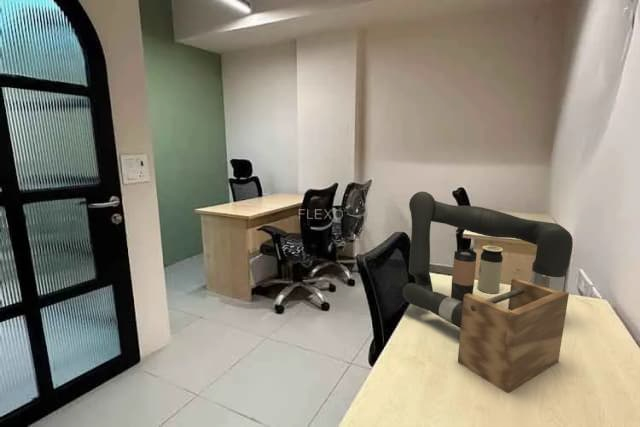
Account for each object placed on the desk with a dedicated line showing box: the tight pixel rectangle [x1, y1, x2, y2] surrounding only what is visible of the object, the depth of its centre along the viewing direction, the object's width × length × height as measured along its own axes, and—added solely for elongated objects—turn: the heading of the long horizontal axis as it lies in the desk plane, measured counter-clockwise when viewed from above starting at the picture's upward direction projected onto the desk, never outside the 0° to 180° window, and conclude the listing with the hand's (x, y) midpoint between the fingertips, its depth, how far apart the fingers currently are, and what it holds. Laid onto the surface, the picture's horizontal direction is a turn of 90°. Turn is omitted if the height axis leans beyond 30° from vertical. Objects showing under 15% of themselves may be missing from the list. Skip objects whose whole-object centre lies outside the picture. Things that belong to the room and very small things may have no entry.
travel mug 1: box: [450, 248, 477, 302], centre depth 127 cm, size 8×8×20 cm
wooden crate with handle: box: [457, 277, 570, 394], centre depth 92 cm, size 14×24×20 cm, turn 121°
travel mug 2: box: [477, 245, 504, 294], centre depth 140 cm, size 8×8×18 cm
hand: (511, 339), depth 92 cm, fingers closed on supplement bottle, 6 cm apart
